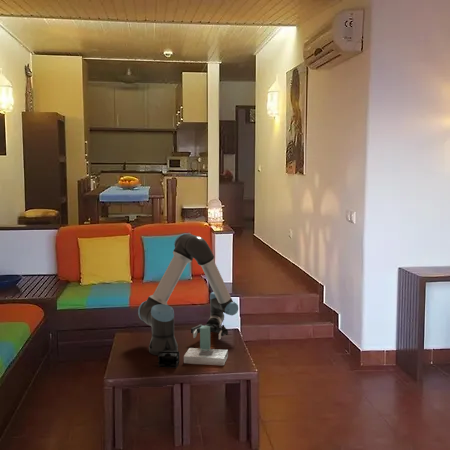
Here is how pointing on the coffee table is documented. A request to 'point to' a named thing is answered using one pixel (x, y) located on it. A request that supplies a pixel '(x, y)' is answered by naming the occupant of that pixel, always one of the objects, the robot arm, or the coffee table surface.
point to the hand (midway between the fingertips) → (206, 336)
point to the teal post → (205, 337)
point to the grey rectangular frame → (206, 356)
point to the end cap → (168, 359)
